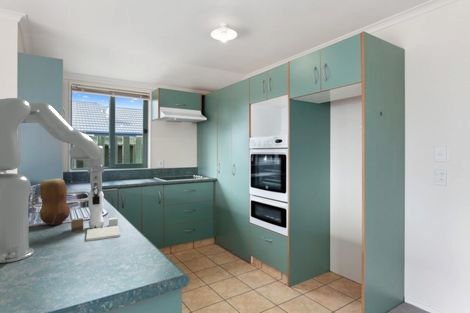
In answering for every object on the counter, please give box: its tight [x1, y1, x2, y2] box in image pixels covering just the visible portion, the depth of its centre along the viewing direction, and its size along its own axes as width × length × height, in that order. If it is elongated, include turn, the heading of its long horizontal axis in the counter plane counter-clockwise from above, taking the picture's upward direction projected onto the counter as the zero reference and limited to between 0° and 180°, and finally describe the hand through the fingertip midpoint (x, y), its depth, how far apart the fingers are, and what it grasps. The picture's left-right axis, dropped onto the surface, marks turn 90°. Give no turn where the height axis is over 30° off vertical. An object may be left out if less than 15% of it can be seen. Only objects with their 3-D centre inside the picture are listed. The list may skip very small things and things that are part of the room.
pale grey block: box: [108, 217, 119, 227], centre depth 144 cm, size 4×4×4 cm
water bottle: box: [87, 183, 105, 229], centre depth 140 cm, size 7×7×25 cm
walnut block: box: [70, 218, 84, 233], centre depth 136 cm, size 5×5×5 cm
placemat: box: [85, 225, 121, 242], centre depth 130 cm, size 16×14×1 cm
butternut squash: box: [39, 178, 71, 226], centre depth 146 cm, size 14×13×25 cm
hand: (96, 202), depth 140 cm, fingers open, 8 cm apart
